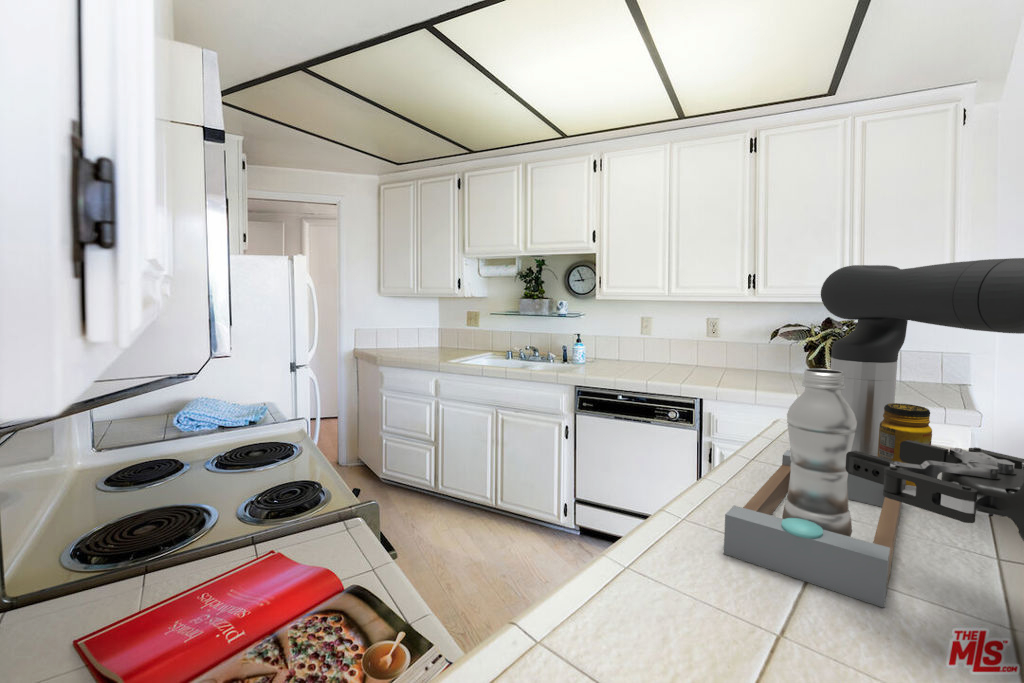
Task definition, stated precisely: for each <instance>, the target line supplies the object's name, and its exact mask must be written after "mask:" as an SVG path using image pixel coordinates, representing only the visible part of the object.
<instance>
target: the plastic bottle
mask: <svg viewBox="0 0 1024 683" xmlns="http://www.w3.org/2000/svg"><path fill="white" fill-rule="evenodd" d="M801 382H802V384H801V386H802V387H803V388H804V390H803V392H802V393H800V395H799V396H798V397H797V398H795V400H794V401H793V402H792V404H791V405H790V406H789V408H788V410H787V413H786V423H787V431H788V440H789V446H790V447H789V448H790V459H791V473H790V481H789V488H788V493H787V494H786V496H787V498H786V499H785V502H784V506H783V511H782V517H781V518H782V519H786V518H799V519H804V520H808V521H811V522H813V523H815V524H817V525H819V526H820V527H821V528H822V529H823V530H827V531H830V532H834V533H838V534H841V535H845V536H849V537H852V533H853V525H852V524H853V523H852V517H851V512H850V510H849V499H848V487H847V478H848V472H847V471H846V468H845V467H846V454H847V453H848V452H850V451H851V449H852V445H853V440H854V436H855V431H856V426H857V420H856V417H855V414H854V412H853V411H852V409H851V407H850V406H849V404H848V403H847V402H846V400H845V399H844V398H843V396H842V395H841V390H843V389H844V387H845V385H844V372H843V371H838V370H831V368H830V369H829V368H828V369H827V368H806V369H804V371H803V381H801Z"/></svg>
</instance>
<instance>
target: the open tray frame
mask: <svg viewBox="0 0 1024 683" xmlns="http://www.w3.org/2000/svg"><path fill="white" fill-rule="evenodd" d="M790 473H791V466H787V465H782V464H780V466H779V467H778V469H776V471H775V472H774V473H773V474H772V475H771V476H770V477H769V478H768V479H767V481H766V482H765V483H764V484H763V485H762V486H761V487H760V488H759V489H758V491H756V493H754V495H753V496H752V497H751V498H750V499H749V501H747V503H745V505H744V506H743V507H742V508H746V509H749V510H753V511H757V512H760V513H764V514H768V515H771V516H772V514H773V513H774V512H775V510H776V509H777V508H778V507H779V505H780V504H781V502H782V501H783V500H784V498H785V497H786V496H787V495H788V488H789V481H790ZM880 511H881V512H880V514H879V520H878V523H877V526H876V531H875V535H874V538H873V542H872V543H875V544H878V545H882V546H886V547H889V548H890V556H889V569H888V582H887V589H888V587H889V581H890V576H891V571H892V563H893V559H894V552H895V546H896V542H897V536H898V529H899V528H898V527H899V524H900V517H901V512H902V506H901V502H899V501H896V500H893V499H889V498H886V497H885V499H884V503H883V507H881V510H880Z"/></svg>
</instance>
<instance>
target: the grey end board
mask: <svg viewBox="0 0 1024 683" xmlns="http://www.w3.org/2000/svg"><path fill="white" fill-rule="evenodd" d="M723 533H724V534H723V535H724V537H723V538H724V539H723V554H724V555H727V556H730V557H732V558H735V559H738V560H741V561H744V562H748V563H750V564H753V565H756V566H759V567H762V568H765V569H769V570H771V571H772V572H773V571H774V572H776V573H780V574H782V575H786V576H789V577H791V578H795V579H798V580H800V581H802V582H806V583H808V584H813V585H814V586H815V585H816V586H818V587H820V588H824V589H827V590H829V591H833V592H836V593H839V594H841V595H844V596H847V597H850V598H853V599H856V600H859V601H862V602H865V603H869V604H871V605H874V606H877V607H880V608H883V609H885V604H886V598H887V595H888V594H887V593H888V588H887V582H888V569H889V556H890V548H889V547H886V546H882V545H878V544H875V543H873V542H870V541H866V540H863V539H860V538H856V537H852V536H851V537H849V536H845V535H841V534H838V533H834V532H830V531H827V530H823V529H822V528H821V527H820V526H819V525H817V524H815V523H813V522H811V521H808V520H804V519H799V518H786V519H782V517H779V516H774V515H772V514H771V515H768V514H764V513H760V512H757V511H753V510H749V509H746V508H743V507H741V506H737V505H733V506H732V507H731V508H730V509H729V510H727V512H726V513H725V515H724V532H723ZM888 583H889V582H888Z"/></svg>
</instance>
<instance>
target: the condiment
mask: <svg viewBox="0 0 1024 683" xmlns="http://www.w3.org/2000/svg"><path fill="white" fill-rule="evenodd" d="M930 411H931V410H930V409H929V408H927V407H925V406H921V405H915V404H911V403H910V404H909V403H899V402H898V403H897V402H896V403H891V404H887V405H885V407H884V414H883V417H884V420H883V421H882V422H881V423H880V427H879V441H878V455H877V457H881V458H884V459H888V460H892V461H894V462H895V461H898V462H902V463H905V462H903V461H902V460H901V459H900V457H899V456H900V444H901V442H902V441H907V440H910V441H915V442H919V443H924V444H928V445H932V438H933V429H932V427H931V426H930V425H929V424H930V423H931V421H930V417H931V416H930V415H931V412H930ZM906 485H910V486H916V484H915V483H913V482H911V481H907V480H906Z"/></svg>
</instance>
